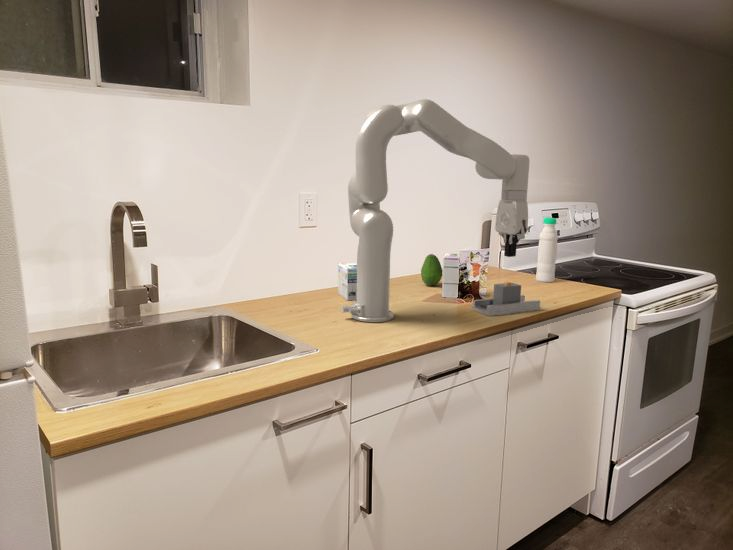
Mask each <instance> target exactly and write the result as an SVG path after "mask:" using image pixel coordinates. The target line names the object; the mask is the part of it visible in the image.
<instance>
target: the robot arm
mask: <svg viewBox="0 0 733 550" xmlns="http://www.w3.org/2000/svg"><path fill="white" fill-rule="evenodd" d="M417 132H421V133H422V134H424V135H426V136H427V137H428V138H429V139H431V140H432V141H434V142H435V144H438V146H440V147H442V148H443V149H444V150H445V151H447V152H450V153H452V154H453V155H456V156H460V157H463V158H467V159H469V160H471V161H474V162H475V167H474V168H475V171H476V173H477V174H478V175H479V176H480V177H481V178H483V179H486V180H500V181H502V182H501V196H500V197H501V199H499V202H498V204H497V205H498V206H497V211H496V216H495V226H494V229H495V231H496V232H497V233H498V235H499V236H500V237H501V238H503V243H504V251H503V252H504V255H503V256H504V257H506V258H510V257H511V258H515V257H516V256H517V245H518V244H519V241H520V240H525V238H526V234H527V232H528V229H529V228H528V226H529V207H528V200H527V199H528V187H529V176H530V175H529V174H530V173H529V171H530V157H529V156H528V155H527V154H511V153H510V152H508V151H507V150H506V149H505V148H504V147H502V146H501V145H499V144H498V143H497V142H496V141H494V140H492V139H491V138H489V137H487V136H485V135H483V134H482V133H480V132H478V131H476V130H474V129H473V128H470V127H468V126H466V124H463V122H461V121H460V120H458V118H456V117H455V116H453V115H452V114H451V113H449V112H448V111H447V110H445V108H443V107H441V106H440V105H439V104H437V103H436V102H434V101H433V100H431V99H427V98H425V99H424V98H423V99H419V100H416V101H413V102H408V103H404V104H399V105H394V104H385V105H382V106H379V107H376V108H374V109H372V110H370V111H369V112H368V113H367V115H366V117H365V119H364V123H363V125H362V127H361V128H360V130H359V132H358V135H357V138H356V141H355V142H356V143H355V173H353V174H352V176H351V177H350V179H349V181H348V185H347V186H348V187H347V195H348V210H349V211H348V212H349V213H348V214H349V223H350V227H351V230H352V232H353V233H354V234H355V235H356V236H357V237H358V245H357V255H356V257H357V258H356V264H357V300H352V304H350V305H341V306H340V312H341V313H349V314H350V316H351V318H352V319H354V320H355V321H359V322H363V323H381V322H388V321H391V320H393V319H394V318H395V313H394V312H393V311H392V310H390V287H391V284H390V281H391V279H390V277H391V250H392V243H393V237H394V224H393V220H392V218H391V217H390V215H389V214H388V213H387V212H386V211H384V210H382V209H381V205H380V204H381V202H383V201H384V200H385V199H386V197H387V194H388V190H389V187H388V186H389V185H388V174H387V171H388V170H387V149H388V145H389V143H390V141H391V140H392V138H393V137H395V136H401V135H407V134H411V133H412V134H413V133H417Z"/></svg>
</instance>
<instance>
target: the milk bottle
mask: <svg viewBox="0 0 733 550" xmlns="http://www.w3.org/2000/svg"><path fill="white" fill-rule="evenodd" d="M556 224H557V218H555V217H544V218H543V228H542V230H541V232H539V236H538V239H539V240H538V249H537V263H536V274H535V280H536V281H537V282H540V283H553V282H554V281H555V272H556V260H557V252H558V239H559V235H558V232H557V230H556V228H555V226H556Z"/></svg>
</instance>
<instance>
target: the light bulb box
mask: <svg viewBox="0 0 733 550" xmlns="http://www.w3.org/2000/svg"><path fill="white" fill-rule="evenodd" d="M337 266H338V269H337V270H338V273H337V274H338V276H337V277H338V285H337V287H338V289H337V294H338V293H339V296H341V297H343V299H345V300H346V301H357V262H352V263H351V262H349V263H347V262H346V263H345V262H342V263H341V262H340V263H338V265H337Z"/></svg>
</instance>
